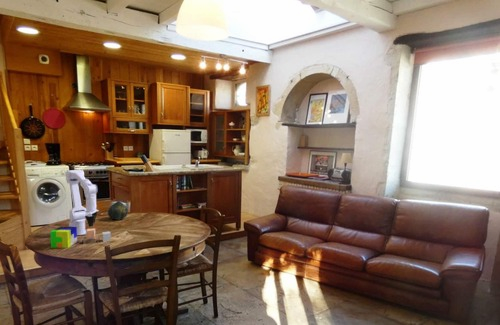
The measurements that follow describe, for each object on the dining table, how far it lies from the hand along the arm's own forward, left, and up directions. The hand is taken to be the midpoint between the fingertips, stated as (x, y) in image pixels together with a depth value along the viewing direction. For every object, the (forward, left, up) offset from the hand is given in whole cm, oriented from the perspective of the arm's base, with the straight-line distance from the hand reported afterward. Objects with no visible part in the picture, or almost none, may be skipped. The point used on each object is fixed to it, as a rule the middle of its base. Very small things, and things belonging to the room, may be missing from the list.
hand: (91, 224), depth 191 cm
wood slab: (-1, -2, -11) cm, 11 cm away
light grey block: (+9, -3, -10) cm, 14 cm away
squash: (+12, +49, -11) cm, 52 cm away
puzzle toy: (-15, -4, -11) cm, 19 cm away
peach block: (0, -2, -8) cm, 8 cm away
